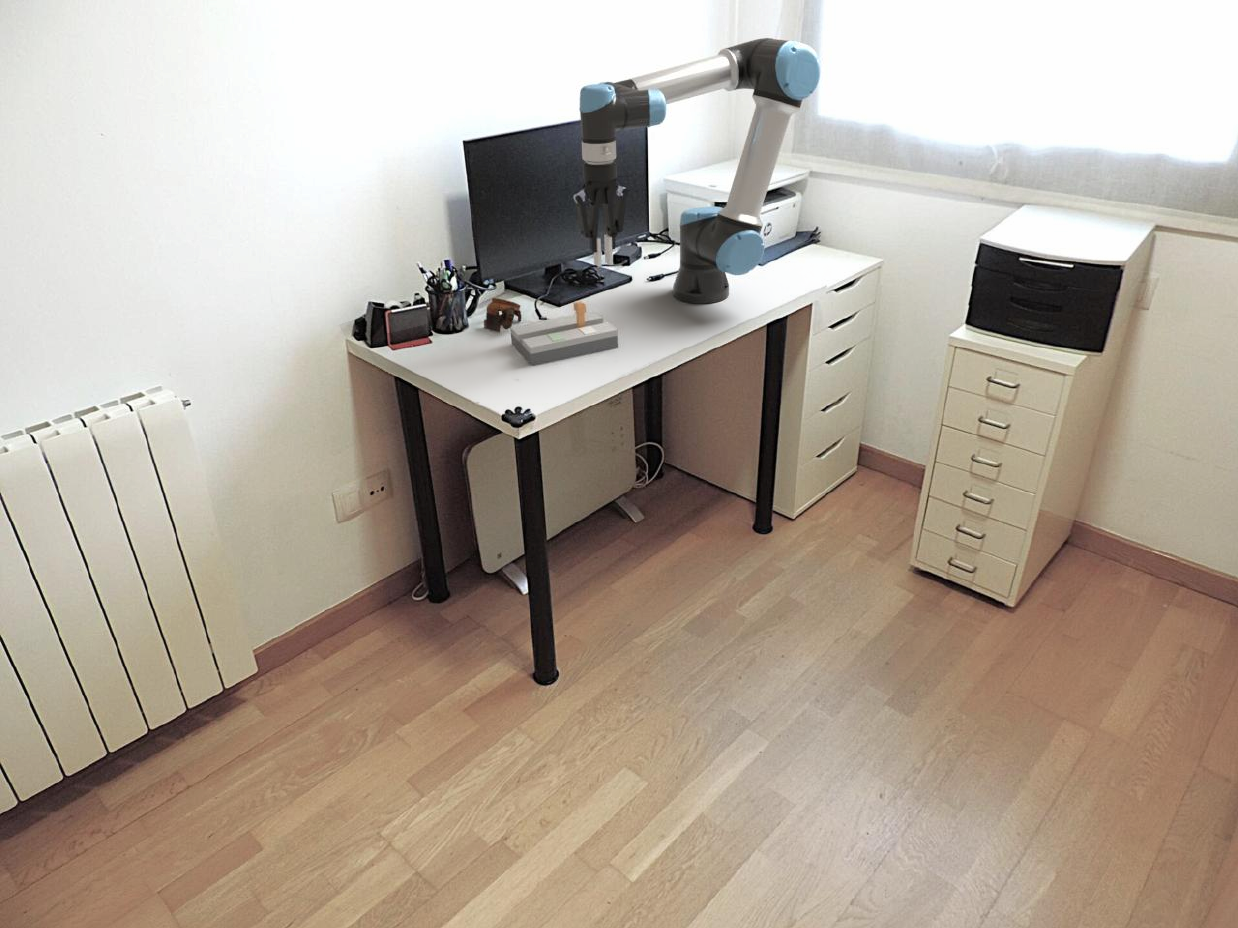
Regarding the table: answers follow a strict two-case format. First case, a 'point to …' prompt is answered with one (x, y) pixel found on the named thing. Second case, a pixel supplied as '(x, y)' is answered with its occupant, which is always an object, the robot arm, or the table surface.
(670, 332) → the table surface
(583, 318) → the breaker handle
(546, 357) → the box
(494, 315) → the brown arched block
